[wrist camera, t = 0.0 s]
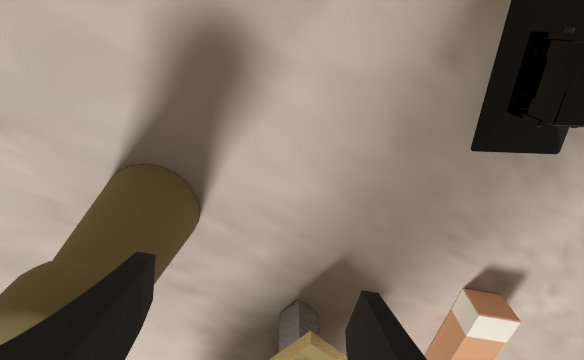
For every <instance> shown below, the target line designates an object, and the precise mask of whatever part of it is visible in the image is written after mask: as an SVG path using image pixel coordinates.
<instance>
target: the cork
mask: <svg viewBox="0 0 584 360" xmlns="http://www.w3.org/2000/svg"><path fill="white" fill-rule="evenodd" d="M199 213H200V207H199V203H198V199H197V196H196V194H195V193H194V191H193V190H192V188H191V187H190V185H189V184H188V183H187V182H186V181H185V180H184V179H182V178H181V177H180V176H179V175H178V174H176V173H174V172H172V171H170V170H168V169H166V168H164V167H161V166H155V165H150V164H140V165H131V166H129V167H127V168H125V169H122V170H120V171H118V172H117V173H116V174H115V175H114V176H113V177H112V178H111V180H110V181H109V182H108V183H107V185H106V186H105V188H104V189H103V190H102V192H101V193H100V195H99V196H98V197H97V199H96V200H95V202H94V203H93V204H92V206H91V207H90V209H89V210H88V211H87V213H86V214H85V216H84V217H83V218H82V220H81V221H80V223H79V224H78V225H77V227H76V228H75V230H74V231H73V232H72V234H71V235H70V237H69V238H68V239H67V241H66V242H65V244H64V245H63V246H62V248H61V249H60V251H59V252H58V254H57V255H56V256H55V258H54V259H53V261H49V262H47V263H44V264H42V265H39V266H37V267H35V268H33V269H31V270H29V271H27V272H26V273H24V274H22V275H20V276H19V277H18V278H17V279H16V280H15V281H14V282H13V283H11V284H10V285H9V286H8V287H7V288H6V289H5V290H4V291H3V292H2V293H1V294H0V345H1V344H3V343H5V342H7V341H9V340H11V339H12V338H14V337H16V336H18V335H19V334H21V333H23V332H24V331H26V330H28V329H29V328H31V327H33V326H34V325H36V324H38V323H39V322H41V321H42V320H44V319H46V318H47V317H49V316H50V315H52V314H53V313H55V312H56V311H58V310H59V309H61V308H62V307H64V306H65V305H67V304H68V303H70V302H71V301H73V300H74V299H75V298H77V297H78V296H80V295H81V294H83V293H84V292H85V291H87V290H88V289H89V288H91V287H92V286H93V285H95V284H96V283H97V282H99V281H100V280H101V279H103V278H104V277H105V276H106V275H108V274H109V273H110V272H112V271H113V270H114V269H115V268H117V267H118V266H119V265H120V264H122V263H123V262H124V261H125V260H126V259H128V258H129V257H130V256H131V255H133V254H134V253H136V252H143V253H149V254H154V255H156V258H155V273H154V284H155V283H156V281H157V280H158V278H159V277H160V276H161V274H162V273H163V272H164V270H165V269H166V268H167V266H168V265H169V264H170V262H171V261H172V260H173V258H174V257H175V255H176V254H177V253H178V251H179V250H180V249H181V247H182V246H183V245H184V243H185V242H186V241H187V239H188V238H189V236H190V235H191V234H192V232H193V231H194V229H195V227H196V225H197V223H198V222H199Z"/></svg>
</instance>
